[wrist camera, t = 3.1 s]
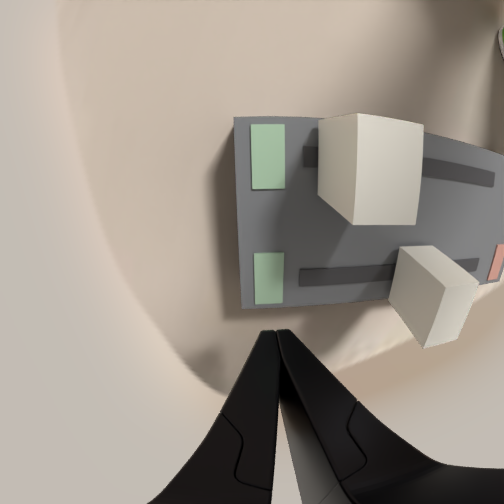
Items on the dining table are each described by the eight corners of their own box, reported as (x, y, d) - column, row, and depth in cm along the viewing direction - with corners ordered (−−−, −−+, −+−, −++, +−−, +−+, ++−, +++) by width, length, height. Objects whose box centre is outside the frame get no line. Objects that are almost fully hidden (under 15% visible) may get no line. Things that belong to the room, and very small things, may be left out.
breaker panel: (497, 155, 12) (523, 163, 9) (478, 265, 15) (500, 282, 12) (235, 121, 11) (233, 117, 9) (241, 281, 14) (241, 310, 12)
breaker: (368, 124, 9) (423, 125, 6) (365, 195, 10) (415, 225, 7) (318, 119, 9) (357, 112, 5) (317, 194, 10) (352, 224, 7)
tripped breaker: (432, 245, 11) (479, 282, 8) (419, 296, 12) (456, 339, 9) (399, 246, 11) (445, 287, 8) (388, 300, 12) (422, 348, 9)
